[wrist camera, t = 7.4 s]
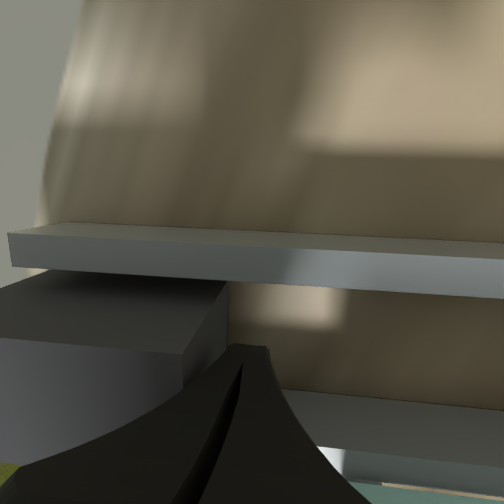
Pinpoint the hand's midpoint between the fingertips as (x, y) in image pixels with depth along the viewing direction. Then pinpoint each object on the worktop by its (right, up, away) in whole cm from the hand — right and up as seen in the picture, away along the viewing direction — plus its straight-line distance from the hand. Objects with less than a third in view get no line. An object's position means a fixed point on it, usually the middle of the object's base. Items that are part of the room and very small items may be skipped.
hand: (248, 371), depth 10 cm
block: (-5, +1, +4) cm, 6 cm away
